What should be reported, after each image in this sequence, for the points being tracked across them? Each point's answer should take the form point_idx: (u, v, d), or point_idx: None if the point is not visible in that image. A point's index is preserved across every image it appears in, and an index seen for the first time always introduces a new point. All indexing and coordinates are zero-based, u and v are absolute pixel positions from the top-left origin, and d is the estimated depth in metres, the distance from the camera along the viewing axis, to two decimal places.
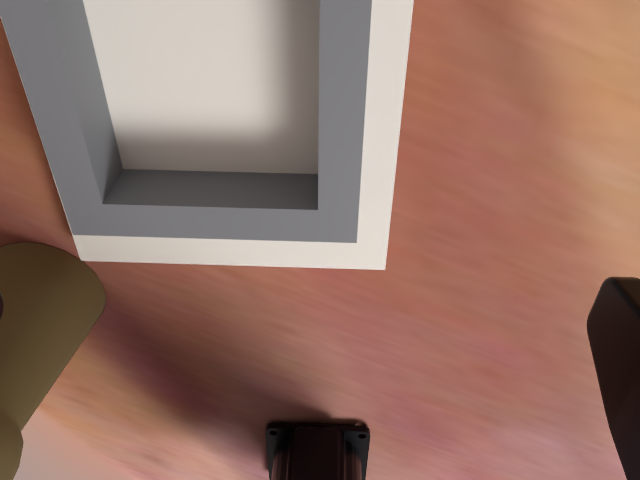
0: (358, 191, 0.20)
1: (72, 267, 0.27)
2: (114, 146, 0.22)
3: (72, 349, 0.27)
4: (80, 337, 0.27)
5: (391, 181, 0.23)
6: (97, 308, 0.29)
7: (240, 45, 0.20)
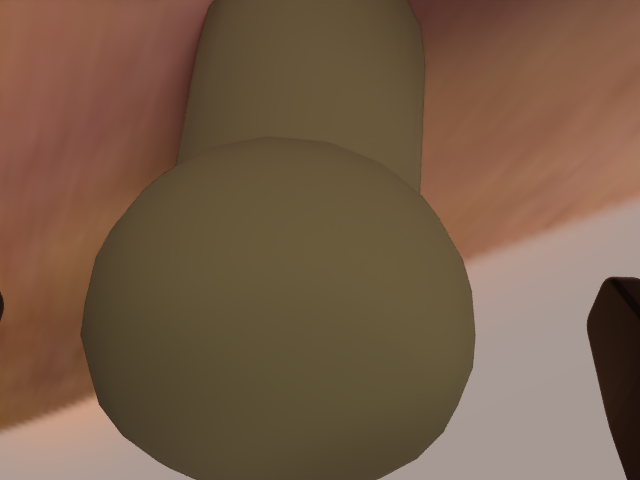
0: None
1: None
2: None
3: (336, 14, 0.11)
4: None
5: None
6: None
7: None
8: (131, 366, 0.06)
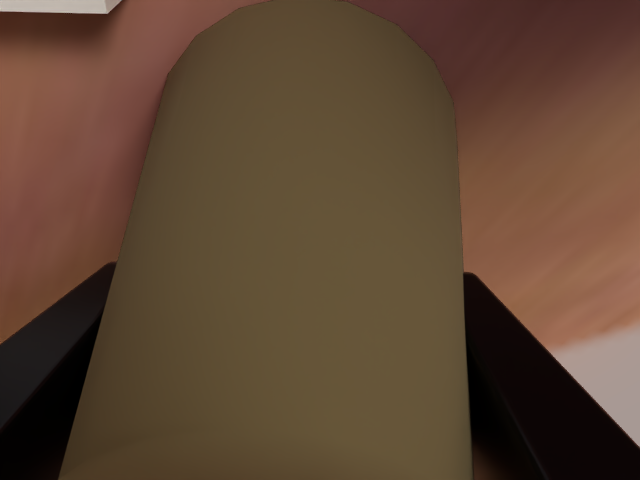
0: None
1: (187, 58, 0.10)
2: None
3: (341, 115, 0.07)
4: (342, 84, 0.08)
5: None
6: (330, 23, 0.09)
7: None
8: None
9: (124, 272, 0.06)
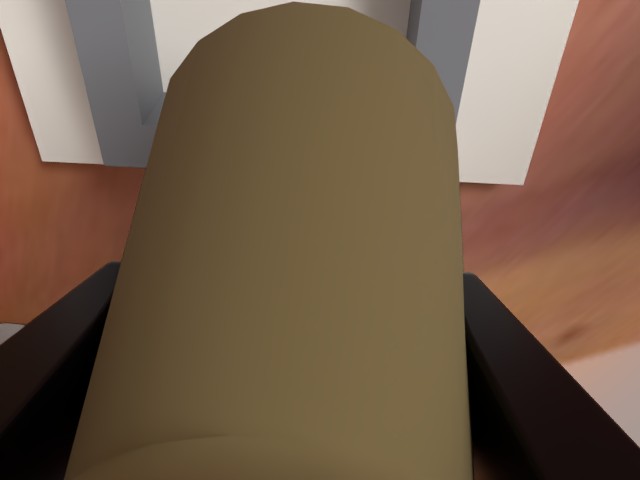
0: None
1: (189, 63, 0.10)
2: None
3: (342, 122, 0.07)
4: (343, 90, 0.08)
5: None
6: (331, 29, 0.09)
7: None
8: None
9: (127, 278, 0.06)
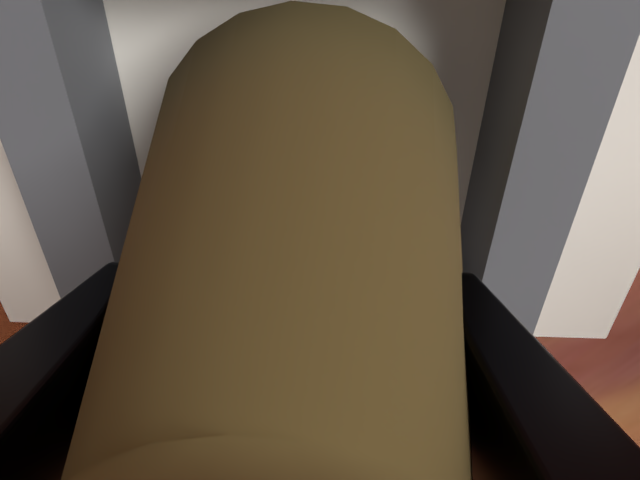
0: None
1: (187, 63, 0.10)
2: None
3: (340, 121, 0.07)
4: (341, 89, 0.08)
5: None
6: (330, 28, 0.09)
7: None
8: None
9: (125, 278, 0.06)
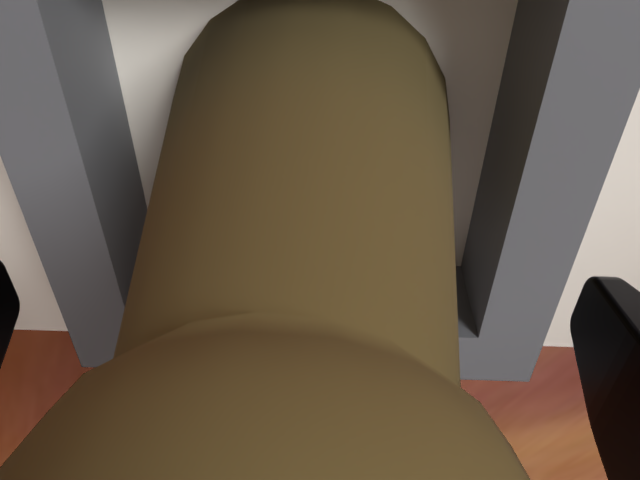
0: None
1: (203, 39, 0.11)
2: None
3: (342, 80, 0.08)
4: (343, 55, 0.09)
5: None
6: (331, 4, 0.10)
7: None
8: None
9: (157, 213, 0.07)
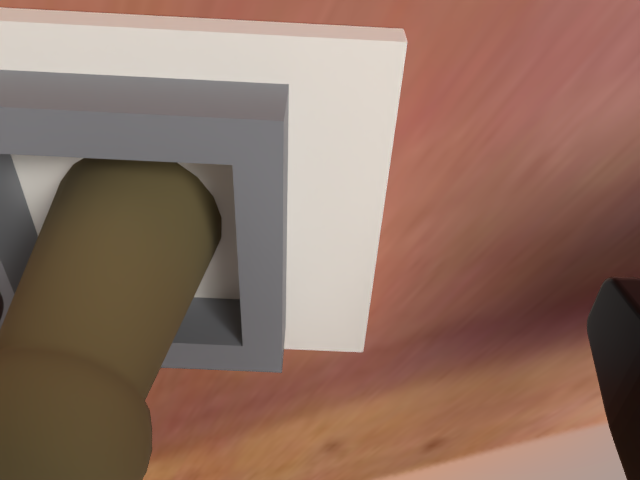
0: (198, 118, 0.16)
1: (67, 178, 0.19)
2: (220, 303, 0.23)
3: (118, 221, 0.17)
4: (125, 204, 0.17)
5: (247, 37, 0.17)
6: (133, 166, 0.19)
7: None
8: None
9: (18, 289, 0.16)
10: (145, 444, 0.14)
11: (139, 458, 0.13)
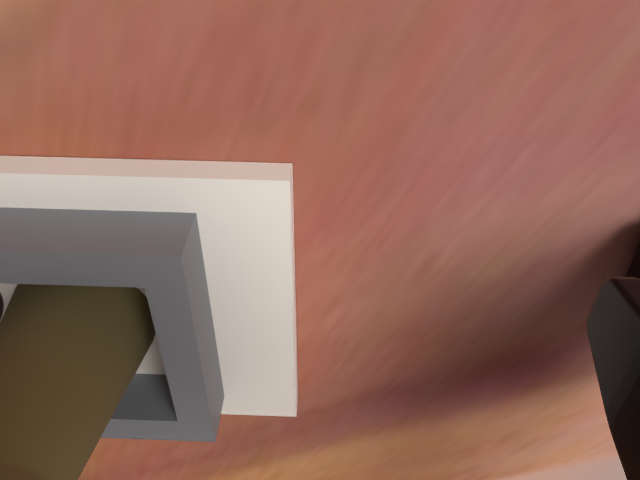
0: (111, 255, 0.19)
1: (19, 287, 0.23)
2: (163, 379, 0.27)
3: (52, 334, 0.20)
4: (60, 317, 0.21)
5: (156, 179, 0.20)
6: None
7: None
8: None
9: None
10: None
11: None
